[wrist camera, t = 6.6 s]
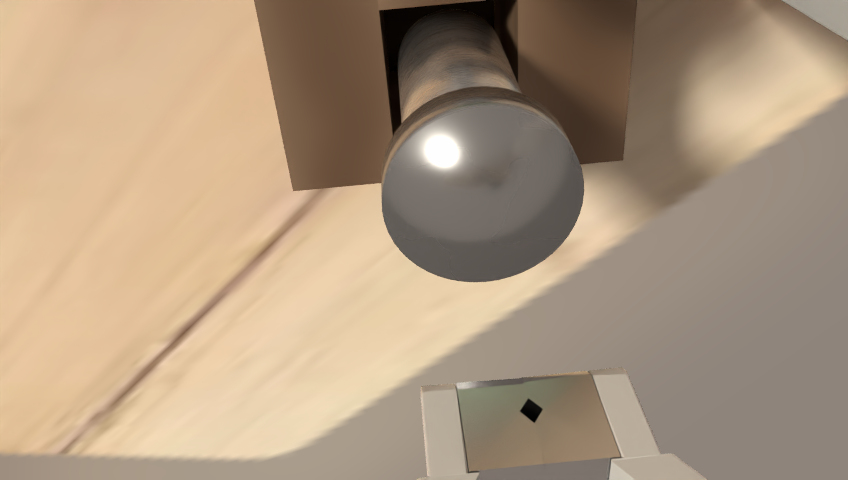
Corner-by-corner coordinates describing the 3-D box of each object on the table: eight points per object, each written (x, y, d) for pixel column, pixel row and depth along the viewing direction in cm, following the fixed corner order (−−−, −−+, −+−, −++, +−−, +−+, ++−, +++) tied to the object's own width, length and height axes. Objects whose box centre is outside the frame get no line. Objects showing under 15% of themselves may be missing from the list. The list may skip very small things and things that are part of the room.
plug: (520, -17, 24) (589, 97, 16) (520, 119, 26) (579, 272, 19) (372, -3, 24) (370, 118, 16) (387, 132, 26) (392, 290, 19)
